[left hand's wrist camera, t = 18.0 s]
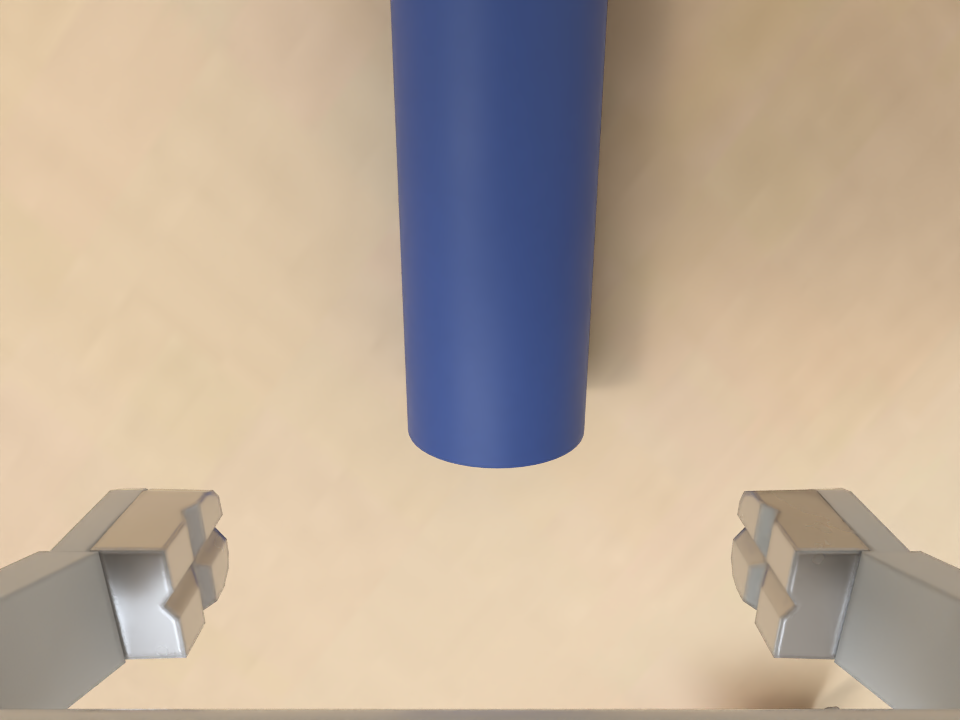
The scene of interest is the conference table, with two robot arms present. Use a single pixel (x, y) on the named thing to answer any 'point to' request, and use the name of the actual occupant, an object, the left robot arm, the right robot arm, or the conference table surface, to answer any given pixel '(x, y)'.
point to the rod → (497, 221)
